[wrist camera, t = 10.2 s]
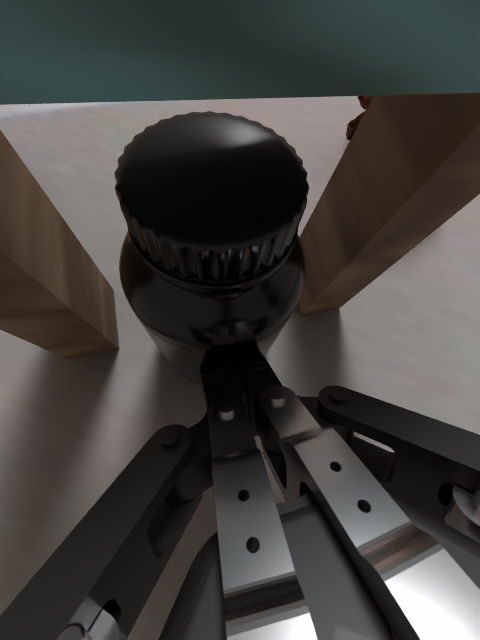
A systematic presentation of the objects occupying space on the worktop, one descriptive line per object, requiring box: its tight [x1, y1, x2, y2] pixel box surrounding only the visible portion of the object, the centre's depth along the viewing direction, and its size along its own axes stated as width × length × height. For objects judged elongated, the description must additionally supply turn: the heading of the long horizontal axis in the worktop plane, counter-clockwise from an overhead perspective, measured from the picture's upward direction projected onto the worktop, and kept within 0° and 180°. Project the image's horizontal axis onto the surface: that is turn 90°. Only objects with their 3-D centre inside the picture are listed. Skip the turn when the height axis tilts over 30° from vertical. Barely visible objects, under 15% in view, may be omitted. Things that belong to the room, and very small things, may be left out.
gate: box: [0, 0, 480, 358], centre depth 11 cm, size 18×4×16 cm, turn 103°
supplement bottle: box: [115, 111, 309, 385], centre depth 12 cm, size 7×7×12 cm
